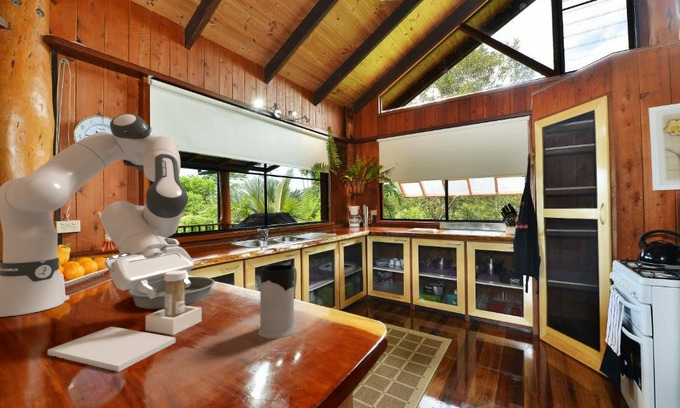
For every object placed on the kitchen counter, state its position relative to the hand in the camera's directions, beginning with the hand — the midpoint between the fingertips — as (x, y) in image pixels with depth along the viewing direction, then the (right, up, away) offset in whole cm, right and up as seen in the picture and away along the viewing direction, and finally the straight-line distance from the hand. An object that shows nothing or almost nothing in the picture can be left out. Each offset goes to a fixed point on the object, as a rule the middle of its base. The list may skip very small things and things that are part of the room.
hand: (172, 291), depth 73 cm
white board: (-5, -8, -13) cm, 16 cm away
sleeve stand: (+1, -8, -1) cm, 8 cm away
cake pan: (-12, -9, +22) cm, 27 cm away
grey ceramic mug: (+28, -8, -2) cm, 30 cm away
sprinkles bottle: (+1, -9, -1) cm, 9 cm away
